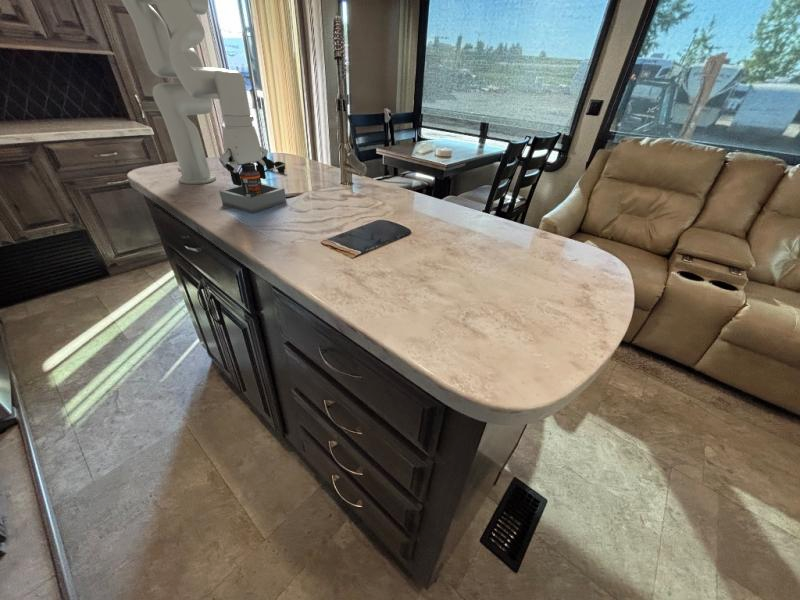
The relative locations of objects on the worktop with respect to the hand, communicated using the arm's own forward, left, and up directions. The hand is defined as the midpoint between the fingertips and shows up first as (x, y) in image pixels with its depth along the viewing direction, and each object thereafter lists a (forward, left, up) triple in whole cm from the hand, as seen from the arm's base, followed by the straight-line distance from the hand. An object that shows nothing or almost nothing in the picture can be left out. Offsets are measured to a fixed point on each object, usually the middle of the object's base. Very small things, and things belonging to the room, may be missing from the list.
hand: (250, 181), depth 105 cm
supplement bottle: (0, 0, -6) cm, 6 cm away
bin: (0, 0, -7) cm, 7 cm away
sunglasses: (-26, +26, -8) cm, 38 cm away
